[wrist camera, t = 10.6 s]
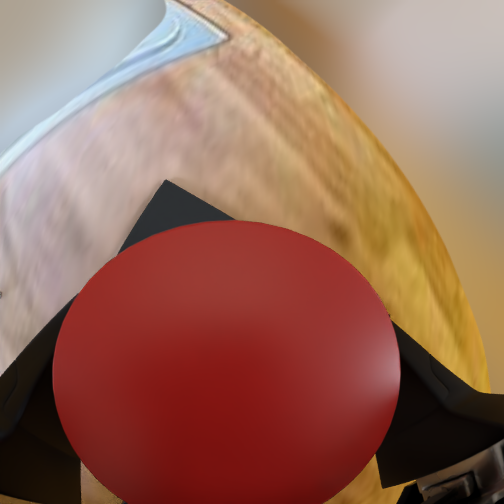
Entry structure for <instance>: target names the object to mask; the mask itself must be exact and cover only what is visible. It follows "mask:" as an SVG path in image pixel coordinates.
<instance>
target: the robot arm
mask: <svg viewBox="0 0 504 504" xmlns="http://www.w3.org/2000/svg"><path fill="white" fill-rule="evenodd" d="M78 294H79V293H78ZM78 294H77V295H78ZM77 295H76V296H75V297H73V298H72V299H71V300H70V301H69V302H68V303H67V304H66V305H65V306H64V307H63V308H62V309H61V310H60V311H59V312H58V313H57V314H56V315H55V316H54V317H53V318H52V319H51V321H50V322H49V323H48V324H47V325H46V326H45V327H44V328H43V329H42V330H41V331H40V332H39V333H38V334H37V335H36V336H35V338H34V339H33V340H32V341H31V342H30V343H29V344H28V345H27V346H26V347H25V349H24V350H23V351H22V352H21V353H20V354H19V356H18V357H17V358H16V361H15V360H14V361H13V362H12V364H11V365H10V366H9V367H8V368H7V370H6V371H5V372H4V373H3V374H2V375H1V377H0V504H82V503H81V461H80V458H79V457H78V455H77V454H76V452H75V451H74V449H73V448H72V446H71V444H70V442H69V440H68V438H67V436H66V434H65V432H64V429H63V427H62V424H61V421H60V418H59V415H58V412H57V408H56V403H55V397H54V391H53V359H54V353H55V347H56V342H57V339H58V335H59V332H60V329H61V326H62V323H63V321H64V319H65V317H66V315H67V313H68V311H69V309H70V307H71V305H72V303H73V301H74V300H75V298H76V297H77ZM391 322H392V325H393V328H394V331H395V334H396V338H397V343H398V348H399V353H400V367H401V375H400V389H399V395H398V400H397V405H396V409H395V412H394V415H393V418H392V421H391V424H390V427H389V429H388V431H387V433H386V435H385V437H384V439H383V441H382V443H381V445H380V446H379V448H378V450H377V451H376V453H375V454H376V459H377V464H378V469H379V474H380V480H381V485H382V489H384V488H388V487H392V486H396V485H399V484H403V483H406V482H410V481H413V480H416V481H415V482H413V483H411V484H409V485H407V486H405V487H404V489H403V492H402V494H401V496H400V498H399V500H398V501H397V503H396V504H504V394H488V393H482V392H479V391H476V390H475V389H473V388H472V387H470V386H469V385H468V384H466V383H465V382H464V381H463V380H461V379H460V378H459V377H457V376H456V375H455V374H453V373H452V372H451V371H450V370H448V369H447V368H446V367H445V366H443V365H442V364H441V363H440V362H439V361H438V360H436V359H435V358H434V357H433V356H432V355H431V354H429V352H427V351H426V350H425V349H424V348H423V347H422V346H421V345H419V344H418V343H417V342H416V341H415V340H414V339H413V338H411V337H410V336H409V335H408V334H407V333H406V332H404V331H403V330H402V329H401V328H400V327H399V326H397V325H396V324H395V323H394V322H393V321H392V320H391ZM122 504H128V503H126V502H125V501H123V503H122Z"/></svg>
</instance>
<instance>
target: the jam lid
mask: <svg viewBox="0 0 504 504" xmlns="http://www.w3.org/2000/svg"><path fill="white" fill-rule="evenodd" d="M400 375H401V367H400V353H399V348H398V343H397V338H396V334H395V331H394V328H393V325H392V322H391V319H390V317H389V314H388V312H387V310H386V309H385V307H384V305H383V303H382V301H381V299H380V297H379V296H378V294H377V293H376V292H375V290H374V289H373V288H372V286H371V285H370V284H369V282H368V281H367V280H366V279H365V278H364V277H363V276H362V274H361V273H360V272H359V271H358V270H357V269H356V268H355V267H354V266H353V265H352V264H350V263H349V262H348V261H347V260H345V259H344V258H343V257H341V256H340V255H339V254H337V253H336V252H335V251H333V250H332V249H330V248H328V247H327V246H325V245H323V244H321V243H319V242H318V241H316V240H314V239H312V238H310V237H307V236H305V235H302V234H300V233H297V232H294V231H292V230H289V229H286V228H282V227H278V226H274V225H269V224H265V223H259V222H249V221H238V220H226V221H206V222H200V223H195V224H189V225H184V226H179V227H176V228H173V229H170V230H167V231H164V232H161V233H158V234H155V235H152V236H150V237H148V238H146V239H144V240H142V241H140V242H138V243H136V244H134V245H132V246H130V247H129V248H127V249H126V250H124V251H123V252H121V253H120V254H119V255H117V256H116V257H114V258H113V259H111V260H110V261H109V262H107V263H106V264H105V265H104V266H103V267H102V268H101V269H100V270H99V271H98V272H97V273H96V274H95V275H94V276H93V277H92V278H91V279H90V280H89V281H88V282H87V284H86V285H85V286H84V287H83V289H82V290H81V291H80V293H79V294H78V295H77V297H76V298H75V300H74V301H73V303H72V305H71V307H70V309H69V311H68V313H67V315H66V317H65V319H64V321H63V323H62V326H61V329H60V332H59V335H58V339H57V342H56V347H55V353H54V359H53V391H54V397H55V403H56V408H57V412H58V415H59V418H60V421H61V424H62V427H63V429H64V432H65V434H66V436H67V438H68V440H69V442H70V444H71V446H72V448H73V449H74V451H75V452H76V454H77V455H78V457H79V458H80V460H81V461H82V462H83V464H84V465H85V466H86V467H87V469H88V470H89V471H90V472H91V473H92V474H93V475H94V477H95V478H96V479H97V480H98V481H99V482H101V483H102V484H103V485H104V486H105V487H106V488H107V489H108V490H110V491H111V492H112V493H113V494H115V495H116V496H117V497H119V498H120V499H122V500H123V501H125V502H126V503H128V504H323V503H324V502H326V501H328V500H329V499H331V498H332V497H334V496H335V495H336V494H337V493H339V492H340V491H341V490H342V489H344V488H345V487H346V486H347V485H348V484H349V483H350V482H351V481H352V480H353V479H354V478H355V477H356V476H357V475H358V474H359V473H360V472H361V471H362V470H363V469H364V468H365V466H366V465H367V464H368V463H369V461H370V460H371V459H372V457H373V456H374V454H375V453H376V451H377V450H378V448H379V446H380V445H381V443H382V441H383V439H384V437H385V435H386V433H387V431H388V429H389V427H390V424H391V421H392V418H393V415H394V412H395V409H396V405H397V400H398V395H399V389H400Z"/></svg>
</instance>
